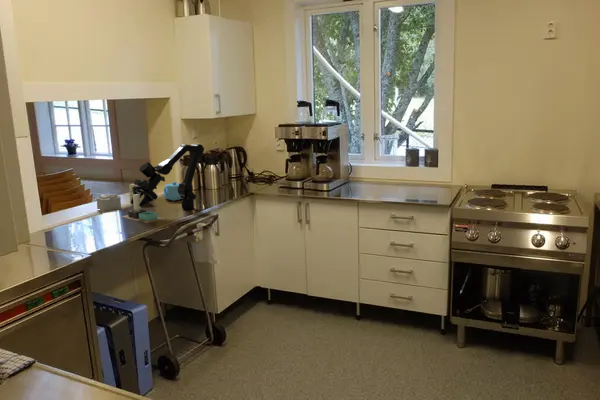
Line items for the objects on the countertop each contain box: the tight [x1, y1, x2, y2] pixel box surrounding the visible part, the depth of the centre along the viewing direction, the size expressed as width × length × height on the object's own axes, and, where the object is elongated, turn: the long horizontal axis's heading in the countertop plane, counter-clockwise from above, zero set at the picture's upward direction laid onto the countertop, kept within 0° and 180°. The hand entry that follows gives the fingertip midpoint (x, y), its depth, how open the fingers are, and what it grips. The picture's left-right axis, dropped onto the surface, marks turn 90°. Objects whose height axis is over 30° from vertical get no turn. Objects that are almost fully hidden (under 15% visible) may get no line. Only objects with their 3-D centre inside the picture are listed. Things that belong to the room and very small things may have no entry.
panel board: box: [120, 209, 165, 224], centre depth 279 cm, size 22×12×4 cm, turn 54°
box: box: [128, 182, 144, 203], centre depth 317 cm, size 10×6×12 cm, turn 74°
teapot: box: [163, 181, 183, 202], centre depth 330 cm, size 12×18×12 cm
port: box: [139, 210, 158, 221], centre depth 276 cm, size 7×7×3 cm
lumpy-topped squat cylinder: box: [96, 193, 122, 212], centre depth 301 cm, size 10×13×9 cm
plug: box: [132, 194, 142, 212], centre depth 280 cm, size 4×4×12 cm
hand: (135, 204), depth 280 cm, fingers open, 9 cm apart
